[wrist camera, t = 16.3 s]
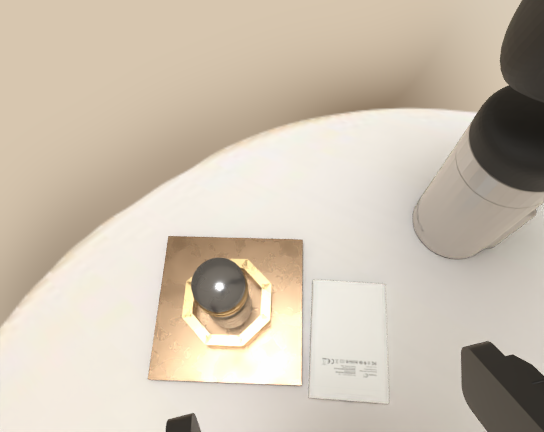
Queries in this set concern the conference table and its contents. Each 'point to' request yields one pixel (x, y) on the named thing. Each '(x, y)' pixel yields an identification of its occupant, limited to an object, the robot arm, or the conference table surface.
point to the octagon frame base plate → (231, 341)
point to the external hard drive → (348, 342)
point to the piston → (222, 292)
